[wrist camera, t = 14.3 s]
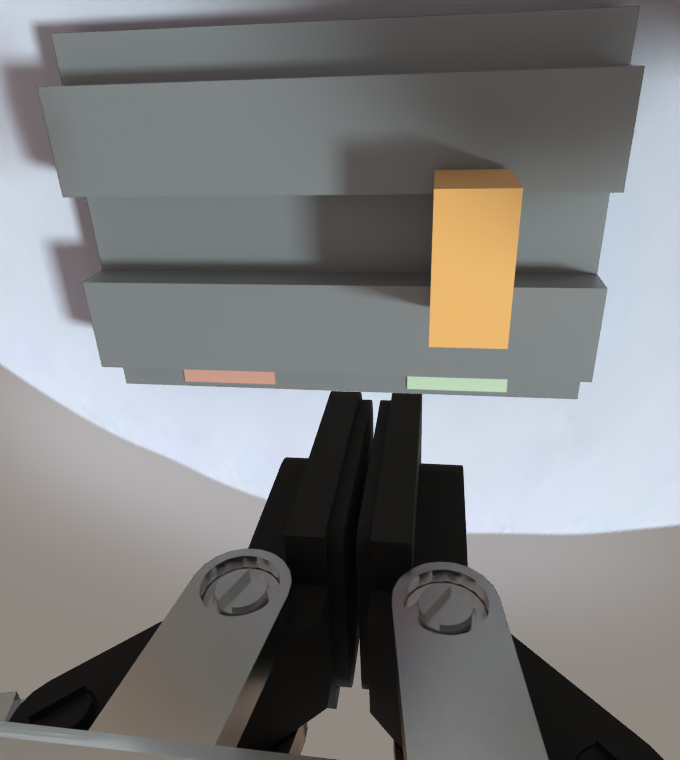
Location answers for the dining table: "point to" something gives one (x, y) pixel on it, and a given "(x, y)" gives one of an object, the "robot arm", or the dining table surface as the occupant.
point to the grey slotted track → (341, 193)
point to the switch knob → (473, 257)
